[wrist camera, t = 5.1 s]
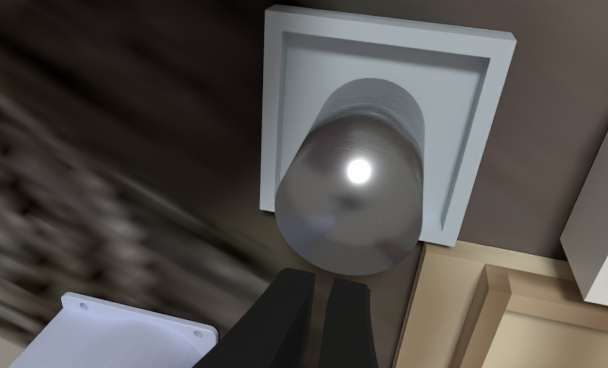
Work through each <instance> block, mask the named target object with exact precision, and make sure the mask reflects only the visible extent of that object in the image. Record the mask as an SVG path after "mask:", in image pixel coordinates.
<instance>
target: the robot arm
mask: <svg viewBox="0 0 608 368" xmlns="http://www.w3.org/2000/svg"><path fill="white" fill-rule="evenodd" d="M315 275H316V274H315V273H310V272H306V271H301V270H296V269H292V268H287V267H286V268H285V269H283V270H281V271H280V272H279V274H278V275H277V276H276V278H275V279H274V280H273V282H272V283H271V284H270V286H269V287H268V288H267V289H266V290H265V292H264V293H263V294H262V295H261V296H260V298H259V299H258V300H257V301H256V302H255V303H254V305H253V306H252V307H251V308H250V309H249V310H248V311H247V312H246V314H245V315H244V316H243V317H242V318H241V319H240V320H239V321H238V322H237V323H236V324H235V325H234V326H233V327H232V328H231V329H230V330H229V332H228V333H227V334H226V335H225V336H224V337H223V338H222V339H221V340H220V341H219V342H218V332H217V330H216V329H215V328H214V327H213V326H210V325H206V324H202V323H198V322H194V321H189V320H185V319H181V318H177V317H173V316H169V315H164V314H160V313H156V312H152V311H148V310H143V309H139V308H135V307H131V306H127V305H123V304H118V303H114V302H110V301H106V300H102V299H98V298H93V297H89V296H85V295H81V294H77V293H73V292H67V293H65V294H64V295H63V296H62V298H61V301H62V304H63V309H62V310H61V311H60V312H59V313H58V314H57V315H56V317H55V318H54V319H53V320H52V321H51V322H50V323H49V324H48V325H47V326H46V327H45V328H44V330H43V331H42V332H41V333H40V334H39V335H38V336H37V337H36V338H35V339H34V340H33V341H32V342H31V344H30V345H29V346H28V347H27V348H26V349H25V350H24V351H23V352H22V353H21V354H20V355H19V357H18V358H17V359H16V360H15V361H14V362H13V363H12V364H11V365H10V366H9V367H8V368H302V365H303V361H304V357H305V353H306V349H307V345H308V337H309V329H310V320H311V311H312V302H313V293H314V284H315ZM318 368H378V363H377V358H376V353H375V347H374V341H373V334H372V326H371V317H370V289H369V288H368V287H367V285H366V284H362V283H357V282H353V281H348V280H343V279H339V278H335V280H334V284H333V287H332V290H331V293H330V296H329V300H328V303H327V309H326V316H325V323H324V331H323V338H322V345H321V353H320V360H319V367H318Z"/></svg>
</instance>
